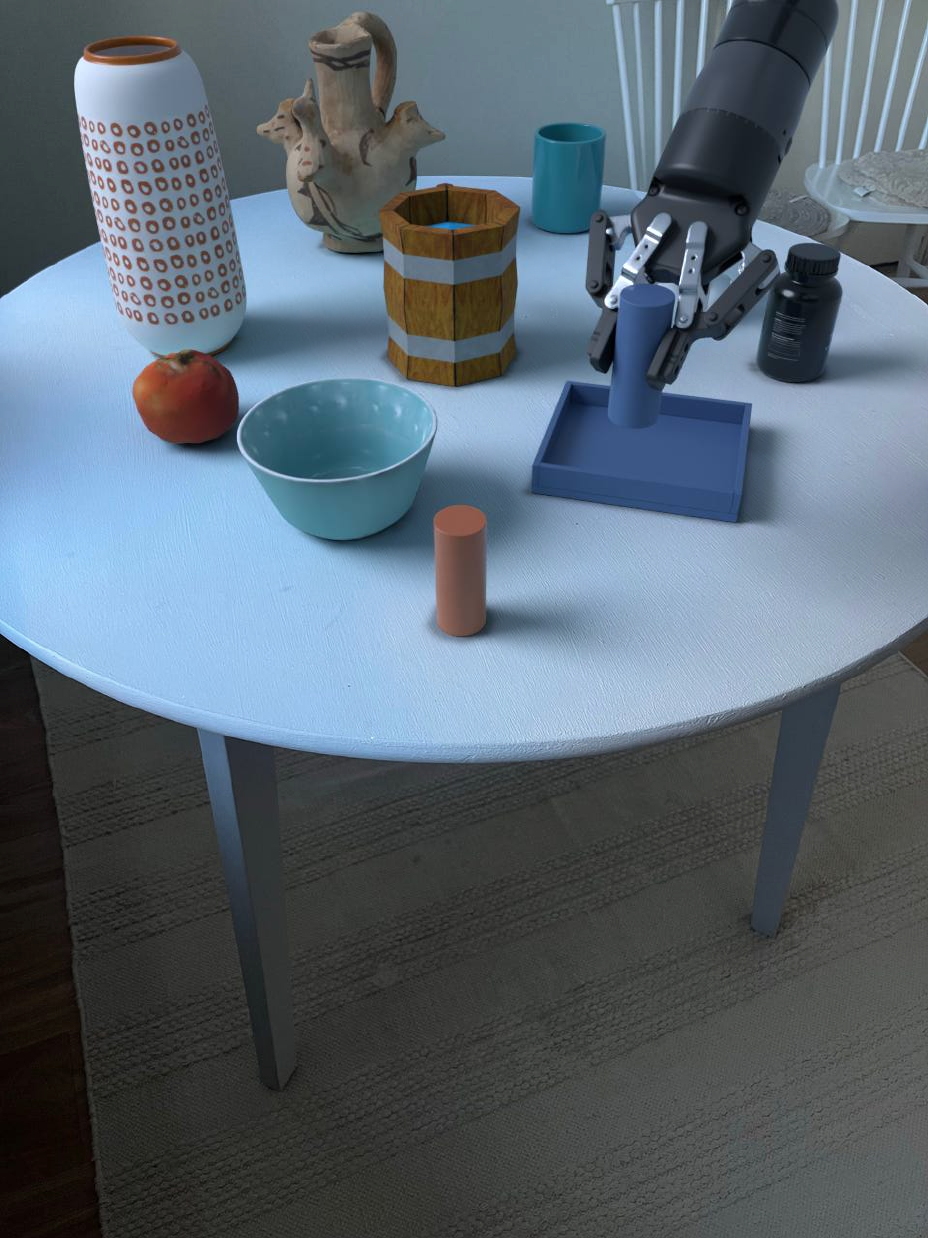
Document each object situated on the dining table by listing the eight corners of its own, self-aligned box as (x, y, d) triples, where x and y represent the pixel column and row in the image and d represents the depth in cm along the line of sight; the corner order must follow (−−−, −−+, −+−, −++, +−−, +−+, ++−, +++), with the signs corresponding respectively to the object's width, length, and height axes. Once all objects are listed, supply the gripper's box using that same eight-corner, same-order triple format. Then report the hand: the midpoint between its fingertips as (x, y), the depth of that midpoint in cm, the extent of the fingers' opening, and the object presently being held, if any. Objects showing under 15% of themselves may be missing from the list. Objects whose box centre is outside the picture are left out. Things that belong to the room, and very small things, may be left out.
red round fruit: (126, 430, 94) (105, 351, 89) (213, 398, 98) (198, 321, 93) (173, 471, 89) (154, 390, 83) (263, 436, 93) (250, 356, 88)
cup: (601, 204, 138) (608, 116, 131) (597, 236, 129) (605, 144, 122) (535, 201, 139) (539, 114, 132) (527, 233, 130) (531, 141, 123)
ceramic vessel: (267, 229, 132) (238, 11, 115) (402, 207, 138) (393, -4, 121) (311, 281, 119) (285, 44, 103) (457, 255, 125) (455, 26, 109)
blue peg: (661, 406, 72) (678, 286, 66) (655, 432, 70) (672, 309, 64) (611, 400, 73) (623, 280, 67) (603, 425, 70) (616, 303, 64)
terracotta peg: (491, 608, 74) (492, 508, 68) (478, 640, 72) (479, 539, 66) (444, 600, 75) (442, 501, 69) (430, 631, 72) (426, 531, 67)
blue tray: (746, 429, 93) (752, 402, 91) (736, 522, 82) (742, 494, 80) (564, 406, 97) (566, 380, 95) (531, 492, 86) (532, 464, 84)
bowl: (265, 584, 77) (249, 494, 71) (241, 475, 88) (225, 390, 83) (462, 547, 80) (461, 459, 74) (414, 447, 91) (410, 364, 86)
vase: (162, 384, 100) (91, 72, 82) (105, 338, 108) (28, 43, 90) (276, 345, 107) (235, 47, 88) (215, 304, 115) (165, 22, 96)
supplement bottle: (837, 376, 101) (868, 258, 93) (780, 389, 99) (807, 270, 91) (796, 348, 106) (822, 233, 98) (741, 359, 104) (763, 243, 96)
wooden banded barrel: (522, 384, 100) (528, 232, 90) (387, 389, 99) (377, 237, 90) (505, 301, 115) (508, 163, 105) (387, 305, 114) (378, 167, 104)
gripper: (621, 87, 66) (516, 328, 67) (830, 123, 60) (712, 387, 61) (648, 151, 73) (553, 369, 74) (838, 188, 67) (732, 425, 68)
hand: (625, 375), depth 67 cm, fingers closed on blue peg, 3 cm apart
